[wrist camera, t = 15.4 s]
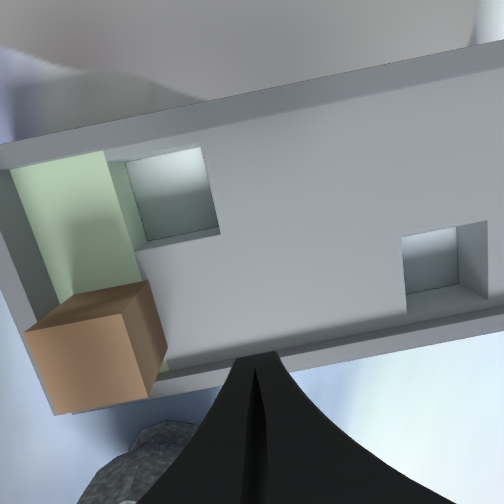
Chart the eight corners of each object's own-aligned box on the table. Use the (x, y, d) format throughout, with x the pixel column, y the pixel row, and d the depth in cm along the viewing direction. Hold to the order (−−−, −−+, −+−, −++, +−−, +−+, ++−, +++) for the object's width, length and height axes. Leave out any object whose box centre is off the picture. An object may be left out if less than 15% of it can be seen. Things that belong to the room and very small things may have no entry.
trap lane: (479, 58, 17) (561, 20, 13) (483, 301, 21) (548, 337, 16) (16, 154, 17) (-59, 150, 13) (98, 376, 21) (60, 431, 17)
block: (148, 280, 17) (121, 313, 13) (168, 347, 18) (148, 397, 14) (72, 294, 17) (23, 332, 13) (96, 361, 18) (57, 414, 14)
